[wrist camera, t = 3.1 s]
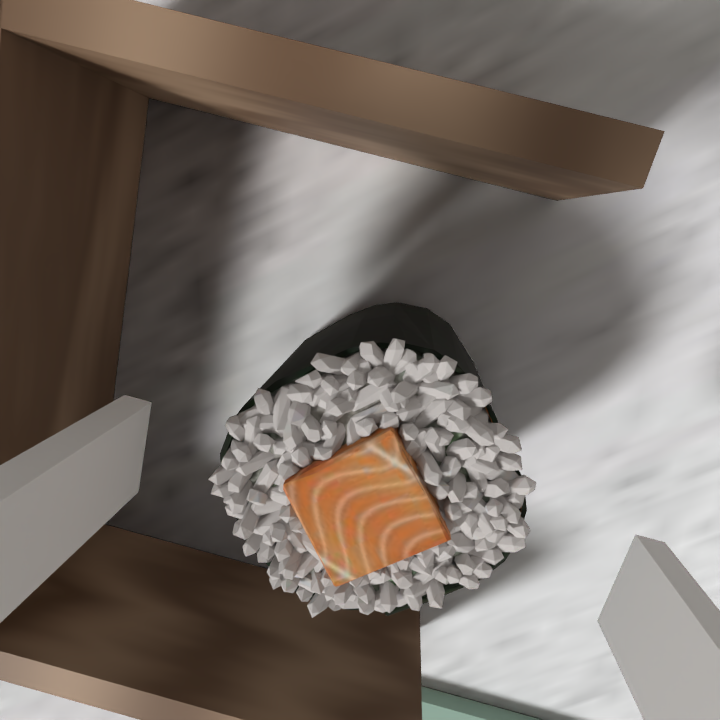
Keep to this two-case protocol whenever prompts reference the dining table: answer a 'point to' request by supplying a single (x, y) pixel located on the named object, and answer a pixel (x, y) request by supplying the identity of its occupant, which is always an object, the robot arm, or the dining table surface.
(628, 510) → the dining table surface
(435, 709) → the mat
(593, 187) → the frame
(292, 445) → the sushi
